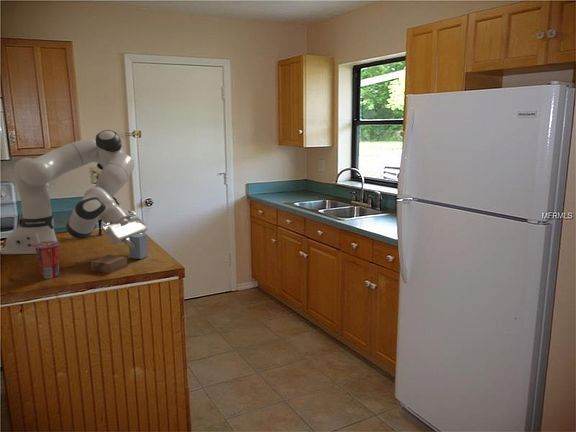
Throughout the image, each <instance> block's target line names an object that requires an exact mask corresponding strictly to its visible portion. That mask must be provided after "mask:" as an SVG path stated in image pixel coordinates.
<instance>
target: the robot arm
mask: <svg viewBox="0 0 576 432" xmlns="http://www.w3.org/2000/svg"><path fill="white" fill-rule="evenodd" d="M91 163H97V164H96V165H97V168H98V170H101V171H100V173H99V177H98V180H97V179H96V183H95V186H94V187H91V188H90V189H88V190H87V191H85V192H84V195H83V197H82V199H81V200H80V201H78V202H77V203H76V204H75V206H74V209H73V210H72V213H71V215H70V218H69V219H68V221H67V223H66V225H65V228H66V231H67V232H68V234H69V235H71V237H73V238H75V239H87V238H90V237H91V235H92V233H93V231H94V228H95V226H96V224H97V222H98V220H102V222H103V224H102V225H101V230H102V231H103V232H104V235H105V236H106V237H107V239H108V240H109V242H110V243H111V244H113V245H114V246H115V245H118V244H121V243H124V244H125V245H127V246H130V247H131V248H132V249H133V248H135V247H136V246H137V245H136V244H135V243H134V242H131V241H130V239H129V237H130V236H132V235H135V234H146V232H147V231H148V226H147V224H146V223H145V222H144V221H143V220H142V219H141V218H140V216H137V213H136V211H134V210H128V209H127V210H126V209H124V208H122V207H121V205H119V206H118V205H117V203H116V202H115V200H114V199H113V198H112V197H115V196H116V194H117V193H118V192H120V190H121V189H122V188H124V186H125V184H127V182H128V180H129V179H130V177H131V175H132V174H133V171H134V168H135V162H134V160H133V158H132V157H131V156H130V155H129V154H127V153H125V151H124V148H123V145H122V140H121V137H120V135H119V134H118V133H117V132H116V131H114V130H109V129H108V130H107V129H105V130H101V131H100V132H99V133H97V134H96V136H95V139H94V138H85V139H80V140H76V141H73V142H71V143H68V144H65V145H62V146H60V147H57V148H54V149H52V150H50V151H48V152H46V153H45V154H42V155H40V156H38V157H35V158H31V157H24V158H21V159H20V160H18V161H17V162H16V163H15V165H14V167H13V170H14V171H13V172H14V173H13V174H14V178H15V181H16V182H15V183H16V185H17V190H18V194H19V197H20V204H21V212H22V216H21V217H20V218H19V219H18V221H17V225H18V227H16V229H14V230H13V231H12V232H11V233H10V234H9V235H8V236H7V237H6V241H5V246H3V247H2V248H0V254H1V255H31V254H33V255H35V254H36V255H37V253H36V249H35V247H31V246H30V245H33V244H37V243H41V242H47V241H58V238H57V236H56V232H55V219H54V215H53V214H52V213H53V212H52V205H51V197H50V195H49V192H48V191H49V190H48V188H47V184H48V183H49V182H52V181H54V180H56V179H57V178H59V177H61V176H63V175H64V174H66V173H69V172H71V171H74V170H76V169H79V168H81V167H83V166H86V165H88V164H91Z"/></svg>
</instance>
